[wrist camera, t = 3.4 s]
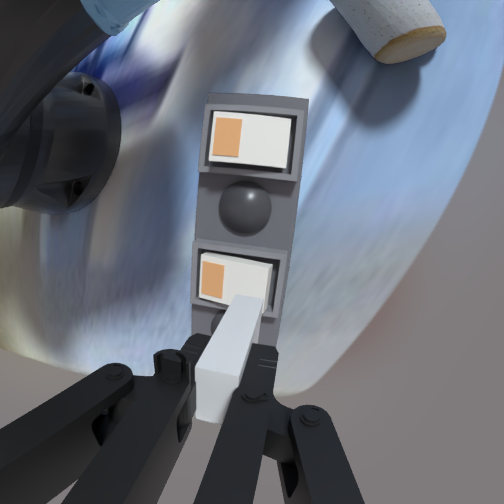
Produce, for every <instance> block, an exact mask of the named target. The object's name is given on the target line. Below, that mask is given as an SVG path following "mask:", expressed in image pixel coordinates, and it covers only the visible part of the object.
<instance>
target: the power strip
mask: <svg viewBox="0 0 504 504" xmlns="http://www.w3.org/2000/svg"><path fill="white" fill-rule="evenodd" d="M308 104H309V99H304V98H295V97H285V96H274V95H260V94H240V93H209V95H208V102H207V104H205V111H204V119H203V127H202V136H201V145H200V155H199V165H198V172H200V174H199V185H198V197H197V211H196V225H195V241H193V247H192V268H191V301H190V303H192V335H194V334H196V333H200V334H205V335H209V336H213V334H214V332H215V330H216V329H217V327H218V325H219V323H220V321H221V320H222V318H223V316H224V314H225V312H226V311H227V309H228V307H229V305H226V304H222V303H219V302H215V301H211V300H207V299H204V298H200V297H199V286H200V265H201V254H203V253H205V252H207V251H208V252H213V253H218V254H223V255H228V256H233V257H238V258H243V259H248V260H253V261H258V262H263V263H268V264H273V267H272V275H271V282H270V289H269V297H268V304H267V308H266V310H265V311H264V313H263V314H262V316H261V323H260V330H259V337H258V343H257V344H263V345H269V346H275V348H276V344H277V339H278V333H279V327H280V321H281V315H282V309H283V303H284V297H285V290H286V284H287V277H288V271H289V264H290V257H291V250H292V243H293V236H294V229H295V221H296V214H297V206H298V198H299V190H300V182H301V173H302V164H303V155H304V146H305V136H306V126H307V115H308ZM214 111H218V112H233V113H245V114H255V115H264V116H272V117H280V118H287V119H291V127H290V137H289V146H288V156H287V165H286V168H276V167H267V166H258V165H249V164H238V163H227V162H214V161H209V152H210V142H211V133H212V125H213V116H214Z"/></svg>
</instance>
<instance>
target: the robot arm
mask: <svg viewBox="0 0 504 504" xmlns="http://www.w3.org/2000/svg"><path fill="white" fill-rule="evenodd" d="M158 1H160V0H0V208H4V207H9V206H15V207H19V208H23V209H27V210H32V211H36V212H40V213H44V214H49V215H60V214H64V213H69V212H73V211H77V210H79V209H81V208H83V207H85V206H86V205H88V204H89V203H90V202H91V201H92V200H94V199H95V197H96V196H97V195H98V194H99V193H100V191H101V190H102V189H103V187H104V185H105V184H106V182H107V180H108V178H109V176H110V174H111V172H112V169H113V167H114V164H115V161H116V158H117V154H118V150H119V144H120V136H121V118H120V111H119V106H118V103H117V100H116V97H115V95H114V93H113V92H112V90H111V89H110V87H109V86H108V85H107V84H106V83H105V82H103V81H102V80H100V79H98V78H96V77H93V76H91V75H88V74H85V73H81V72H70V71H71V70H72V69H73V68H74V67H75V66H76V65H77V64H79V63H80V62H81V61H82V60H83V59H84V58H85V57H86V56H87V55H89V54H90V53H91V52H92V51H93V50H94V49H96V48H97V47H98V46H99V45H101V44H102V43H103V42H104V41H105V40H107V39H108V38H109V37H111V36H116V35H117V34H119V33H120V32H122V31H123V30H124V29H125V28H126V27H127V25H128V24H129V22H130V21H131V20H132V19H134V18H135V17H136V16H138V15H139V14H141V13H142V12H143V11H145V10H146V9H148V8H149V7H151V6H152V5H154V4H155V3H157V2H158ZM263 301H264V299H263V298H257V297H251V296H244V295H238V294H236V295H235V296H234V298H233V300H232V302H231V303H230V305H229V307H228V309H227V311H226V312H225V314H224V316H223V318H222V320H221V321H220V323H219V325H218V327H217V329H216V330H215V332H214V334H213V336H209V335H205V334H200V333H196V334H194V335H192V336H191V337H189V338H188V340H187V341H186V342H185V344H184V345H183V347H182V348H181V350H175V349H165V350H161V351H158V352H157V353H155V354H154V355H153V357H154V368H155V374H154V375H153V376H136V375H133V373H132V371H131V369H130V368H129V367H128V366H126V365H124V364H121V363H111V364H107V365H105V366H103V367H101V368H99V369H98V370H96V371H95V372H93V373H91V374H90V375H88V376H87V377H85V378H83V379H82V380H80V381H79V382H77V383H75V384H74V385H72V386H70V387H69V388H67V389H66V390H64V391H62V392H61V393H59V394H58V395H56V396H54V397H53V398H51V399H49V400H48V401H46V402H44V403H43V404H41V405H39V406H38V407H36V408H35V409H33V410H32V411H30V412H28V413H26V414H25V415H23V416H21V417H20V418H18V419H16V420H15V421H13V422H11V423H10V424H8V425H7V426H5V427H3V428H1V429H0V504H46V503H48V502H49V501H50V500H52V499H53V498H54V497H55V496H57V495H58V494H59V493H61V492H62V491H63V490H65V489H66V488H67V487H69V486H70V485H71V484H72V483H74V482H75V481H76V480H77V479H78V481H77V482H76V484H75V485H74V486H73V488H72V489H71V491H70V492H69V493H68V495H67V496H66V497H65V499H64V500H63V502H62V503H61V504H157V502H158V500H159V497H160V495H161V493H162V491H163V489H164V487H165V484H166V483H167V480H168V478H169V476H170V474H171V472H172V469H173V467H174V465H175V463H176V461H177V459H178V457H179V454H180V452H181V450H182V448H183V445H184V443H185V441H186V439H187V437H188V434H189V432H190V430H191V427H192V417H193V415H194V413H195V412H196V419H199V420H203V421H207V422H211V423H216V424H220V425H222V426H221V429H220V432H219V435H218V438H217V440H216V443H215V446H214V449H213V452H212V454H211V457H210V460H209V463H208V465H207V468H206V471H205V474H204V476H203V479H202V482H201V485H200V487H199V490H198V493H197V495H196V498H195V501H194V503H193V504H253V499H254V495H255V490H256V485H257V480H258V475H259V470H260V465H261V459H262V455H266V456H268V457H270V458H272V459H275V460H277V465H278V470H279V476H280V481H281V486H282V492H283V497H284V502H285V504H365V503H364V501H363V498H362V495H361V493H360V490H359V488H358V485H357V483H356V480H355V478H354V475H353V473H352V470H351V468H350V465H349V462H348V460H347V458H346V455H345V452H344V450H343V447H342V445H341V442H340V440H339V438H338V435H337V432H336V430H335V427H334V425H333V423H332V420H331V417H330V416H329V414H328V413H327V412H326V411H325V410H324V409H322V408H320V407H317V406H314V405H303V406H299V407H297V408H296V409H294V410H293V409H291V408H288V407H286V406H284V405H282V404H280V403H279V402H278V401H277V400H276V399H275V397H274V395H273V388H274V381H275V375H276V368H277V361H278V354H279V353H278V352H277V350H276V348H275V346H269V345H263V344H257V343H258V337H259V330H260V323H261V316H262V308H263ZM105 410H106V411H105Z"/></svg>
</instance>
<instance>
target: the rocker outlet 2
mask: <svg viewBox="0 0 504 504" xmlns="http://www.w3.org/2000/svg"><path fill="white" fill-rule="evenodd" d="M272 267H273V264H268V263H263V262H258V261H253V260H248V259H243V258H238V257H233V256H228V255H223V254H218V253H213V252H208V251H207V252H205V253H203V254H201V265H200V286H199V297H200V298H204V299H207V300H211V301H215V302H219V303H222V304H226V305H230V303H231V302H232V300H233V298H234V296H235V295H236V294H238V295H244V296H251V297H257V298H263V299H264V301H263V308H262V314H263V313H264V311H265V310H266V308H267V304H268V297H269V289H270V282H271V275H272Z"/></svg>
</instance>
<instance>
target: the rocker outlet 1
mask: <svg viewBox="0 0 504 504" xmlns="http://www.w3.org/2000/svg"><path fill="white" fill-rule="evenodd" d="M290 127H291V119H287V118H280V117H272V116H264V115H255V114H245V113H233V112H218V111H214V116H213V125H212V133H211V142H210V152H209V161H214V162H227V163H238V164H249V165H258V166H267V167H276V168H286V165H287V156H288V146H289V137H290Z"/></svg>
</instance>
